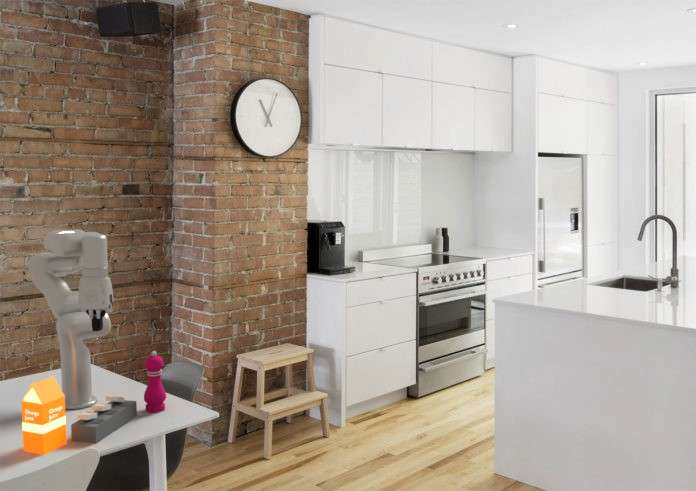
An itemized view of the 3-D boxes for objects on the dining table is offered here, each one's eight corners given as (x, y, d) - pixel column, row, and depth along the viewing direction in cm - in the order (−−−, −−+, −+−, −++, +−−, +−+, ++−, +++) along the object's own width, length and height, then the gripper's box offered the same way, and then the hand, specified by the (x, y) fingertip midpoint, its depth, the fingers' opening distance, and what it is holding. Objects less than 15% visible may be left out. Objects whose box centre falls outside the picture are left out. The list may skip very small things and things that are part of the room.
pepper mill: (160, 414, 232) (158, 354, 230) (140, 412, 233) (138, 353, 231) (170, 406, 239) (168, 349, 237) (150, 405, 240) (148, 348, 238)
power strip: (71, 441, 208) (70, 423, 208) (123, 408, 238) (123, 392, 237) (96, 443, 207) (95, 425, 206) (145, 409, 236) (145, 394, 235)
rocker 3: (105, 400, 224) (106, 395, 225) (113, 401, 229) (114, 396, 230) (115, 401, 224) (116, 396, 224) (123, 402, 229) (124, 397, 229)
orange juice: (23, 451, 201) (19, 382, 199) (46, 440, 209) (43, 374, 207) (44, 454, 198) (41, 385, 196) (67, 443, 206) (64, 377, 204)
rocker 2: (91, 410, 217) (91, 405, 217) (100, 408, 222) (101, 403, 222) (102, 411, 216) (102, 405, 216) (111, 409, 221) (111, 404, 221)
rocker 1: (76, 419, 209) (76, 413, 209) (86, 416, 214) (86, 411, 214) (87, 419, 208) (87, 414, 208) (97, 417, 213) (97, 412, 213)
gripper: (67, 274, 220) (69, 331, 222) (110, 275, 217) (112, 334, 219) (80, 271, 228) (83, 326, 229) (123, 272, 225) (125, 329, 226)
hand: (97, 330), depth 224 cm, fingers closed
